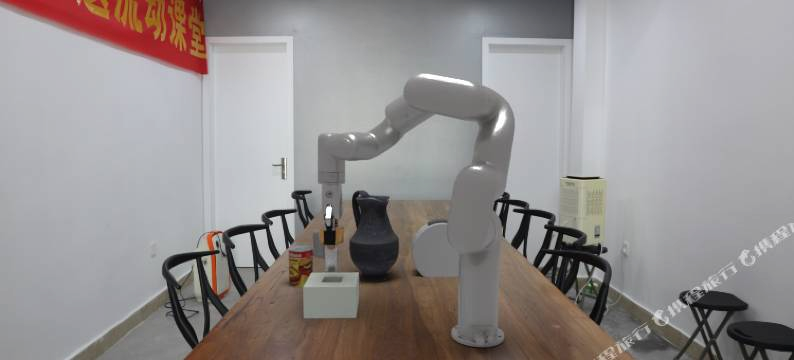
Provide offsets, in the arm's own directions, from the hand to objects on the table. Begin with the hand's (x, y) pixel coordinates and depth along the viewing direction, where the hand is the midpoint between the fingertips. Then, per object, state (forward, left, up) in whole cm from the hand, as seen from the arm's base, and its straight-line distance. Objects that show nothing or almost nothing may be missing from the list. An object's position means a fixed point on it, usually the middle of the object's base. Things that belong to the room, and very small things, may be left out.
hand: (331, 241), depth 130 cm
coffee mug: (+63, +10, -20) cm, 67 cm away
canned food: (+24, +13, -20) cm, 33 cm away
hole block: (0, 0, -19) cm, 19 cm away
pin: (0, 0, -8) cm, 8 cm away
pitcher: (+32, -10, -20) cm, 39 cm away
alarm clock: (+35, -35, -20) cm, 53 cm away
